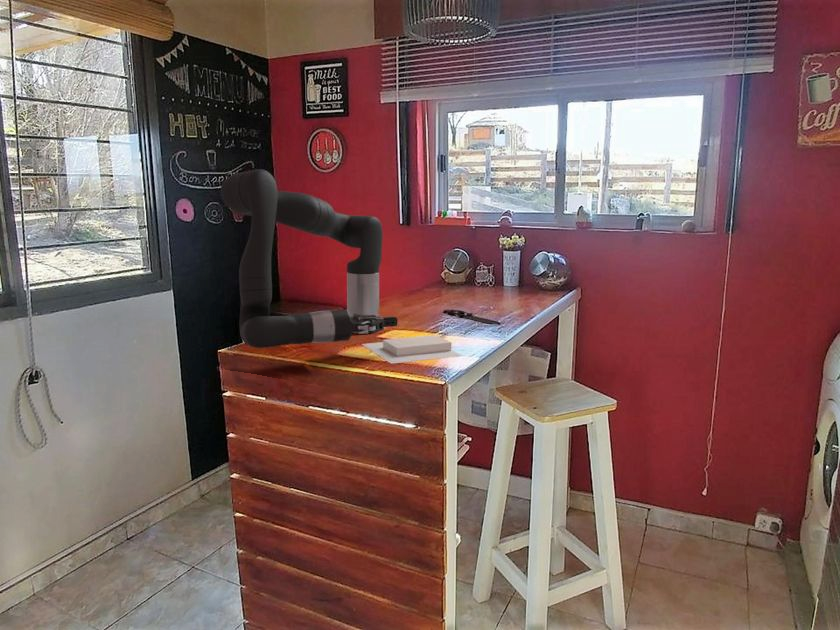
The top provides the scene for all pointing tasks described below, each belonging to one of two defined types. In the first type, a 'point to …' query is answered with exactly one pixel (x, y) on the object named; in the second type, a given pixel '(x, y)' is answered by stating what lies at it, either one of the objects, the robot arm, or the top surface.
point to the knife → (468, 316)
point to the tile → (416, 345)
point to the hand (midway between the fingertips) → (396, 321)
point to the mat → (392, 358)
